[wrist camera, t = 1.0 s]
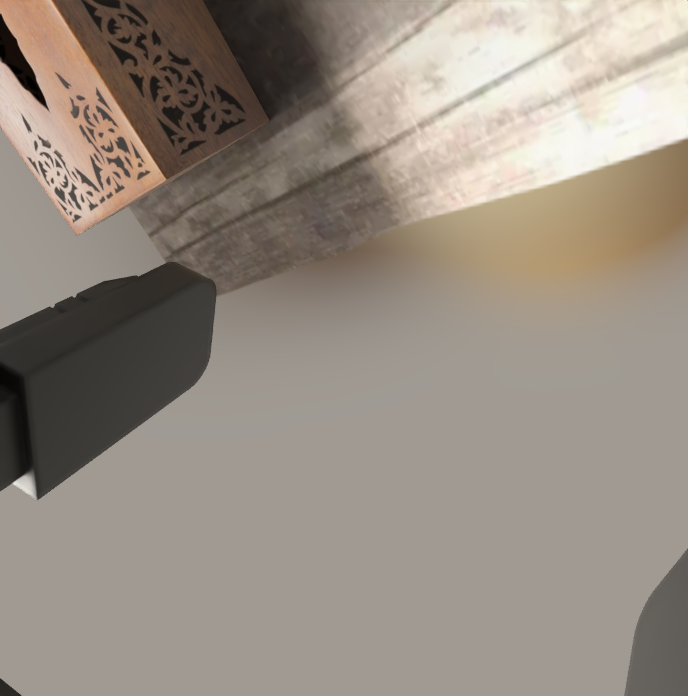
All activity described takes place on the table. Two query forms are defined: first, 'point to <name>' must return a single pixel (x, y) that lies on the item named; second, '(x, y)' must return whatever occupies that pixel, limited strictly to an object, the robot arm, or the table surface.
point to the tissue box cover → (117, 97)
